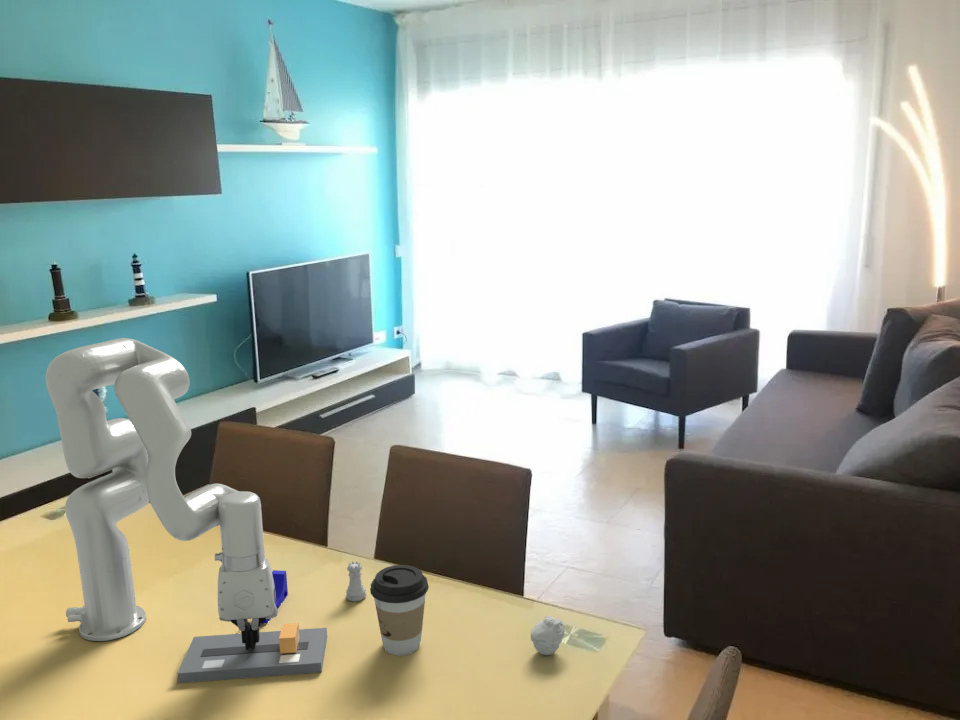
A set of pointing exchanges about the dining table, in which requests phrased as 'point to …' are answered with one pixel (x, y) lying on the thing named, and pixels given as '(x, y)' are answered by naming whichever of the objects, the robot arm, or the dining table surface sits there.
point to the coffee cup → (400, 607)
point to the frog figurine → (548, 635)
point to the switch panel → (251, 657)
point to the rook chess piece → (355, 583)
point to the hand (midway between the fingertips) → (251, 645)
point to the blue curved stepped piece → (279, 587)
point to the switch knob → (289, 638)
